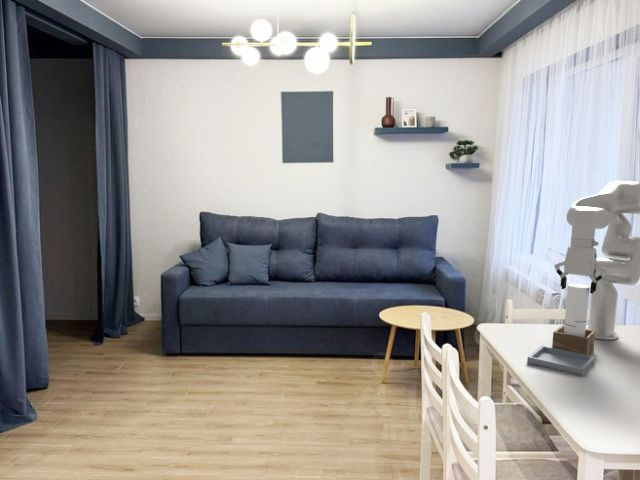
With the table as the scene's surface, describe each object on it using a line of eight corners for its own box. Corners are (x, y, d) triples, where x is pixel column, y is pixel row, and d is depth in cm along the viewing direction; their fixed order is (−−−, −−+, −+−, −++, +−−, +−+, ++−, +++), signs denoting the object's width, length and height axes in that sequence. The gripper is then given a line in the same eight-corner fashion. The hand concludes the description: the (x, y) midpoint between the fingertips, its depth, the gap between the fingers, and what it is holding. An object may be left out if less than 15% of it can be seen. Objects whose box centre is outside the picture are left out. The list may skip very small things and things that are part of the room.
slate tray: (541, 352, 214) (542, 345, 213) (594, 363, 203) (595, 356, 202) (527, 363, 201) (527, 356, 201) (582, 376, 190) (583, 369, 190)
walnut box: (560, 345, 222) (562, 325, 221) (593, 352, 215) (595, 331, 214) (551, 353, 213) (553, 331, 211) (585, 360, 206) (587, 338, 204)
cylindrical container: (585, 356, 210) (591, 288, 206) (564, 355, 211) (570, 287, 207) (580, 350, 216) (586, 284, 213) (560, 348, 218) (565, 283, 214)
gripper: (611, 245, 205) (606, 293, 208) (559, 240, 216) (555, 285, 218) (606, 247, 200) (601, 296, 202) (553, 241, 210) (549, 288, 212)
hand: (577, 290), depth 210 cm, fingers open, 9 cm apart
